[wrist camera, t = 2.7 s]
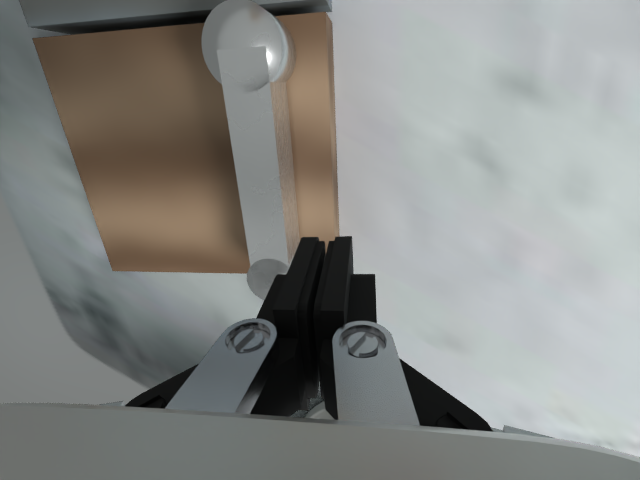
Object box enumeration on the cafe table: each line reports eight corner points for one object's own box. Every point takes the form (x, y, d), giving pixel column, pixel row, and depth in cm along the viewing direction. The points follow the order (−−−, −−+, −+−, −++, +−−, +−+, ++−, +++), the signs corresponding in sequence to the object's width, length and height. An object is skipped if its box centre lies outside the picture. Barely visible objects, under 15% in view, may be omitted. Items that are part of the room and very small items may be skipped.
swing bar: (224, 16, 16) (193, 2, 13) (293, 10, 15) (276, -6, 12) (261, 273, 21) (245, 301, 18) (312, 274, 21) (303, 303, 18)
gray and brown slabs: (339, 253, 23) (332, 293, 19) (140, 251, 25) (90, 286, 21) (315, -461, 12) (283, -790, 7) (-43, -358, 14) (-237, -565, 10)
